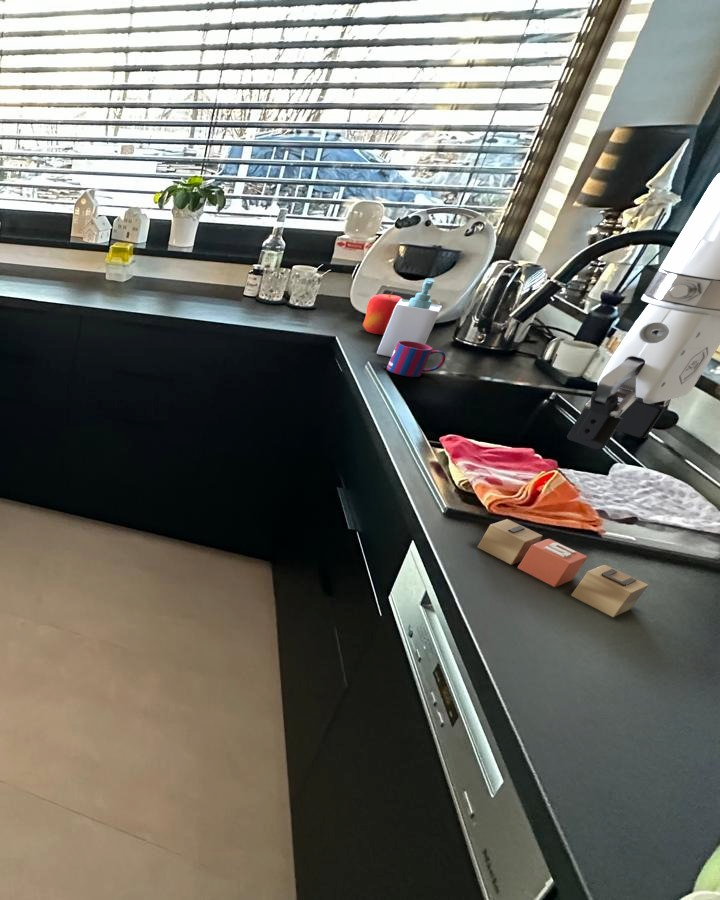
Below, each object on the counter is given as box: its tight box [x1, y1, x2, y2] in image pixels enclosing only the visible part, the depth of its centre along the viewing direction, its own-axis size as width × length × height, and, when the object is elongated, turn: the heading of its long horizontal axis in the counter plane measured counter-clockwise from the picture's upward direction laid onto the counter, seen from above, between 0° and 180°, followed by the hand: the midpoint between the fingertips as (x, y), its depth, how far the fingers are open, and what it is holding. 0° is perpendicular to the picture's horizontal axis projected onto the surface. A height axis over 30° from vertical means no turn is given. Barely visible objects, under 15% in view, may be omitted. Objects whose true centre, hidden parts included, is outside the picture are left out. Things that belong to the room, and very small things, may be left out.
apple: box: [362, 291, 404, 336], centre depth 175 cm, size 9×8×12 cm
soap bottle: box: [376, 277, 442, 358], centre depth 155 cm, size 9×9×19 cm
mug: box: [386, 341, 447, 378], centre depth 145 cm, size 7×10×7 cm
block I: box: [477, 518, 543, 566], centre depth 82 cm, size 4×4×4 cm
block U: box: [570, 564, 649, 618], centre depth 74 cm, size 4×4×4 cm
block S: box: [517, 538, 588, 588], centre depth 78 cm, size 4×4×4 cm
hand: (605, 438), depth 73 cm, fingers open, 9 cm apart
